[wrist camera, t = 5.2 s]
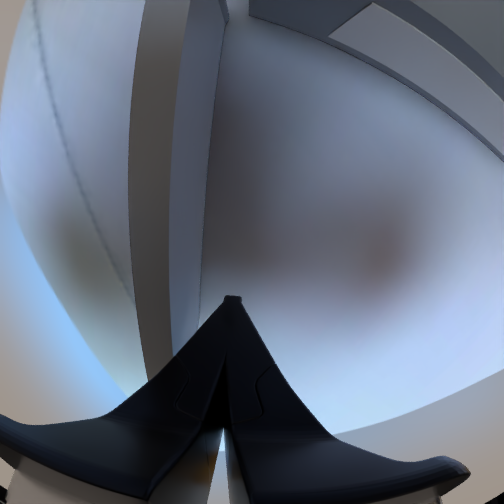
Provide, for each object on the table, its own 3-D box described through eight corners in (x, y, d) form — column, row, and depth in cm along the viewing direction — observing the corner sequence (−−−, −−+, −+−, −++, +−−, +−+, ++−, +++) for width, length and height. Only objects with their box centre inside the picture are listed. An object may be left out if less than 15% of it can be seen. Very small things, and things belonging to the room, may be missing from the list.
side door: (201, 318, 14) (183, 427, 9) (172, 315, 14) (143, 420, 9) (231, 6, 8) (215, -80, 3) (192, 5, 8) (142, -73, 3)
